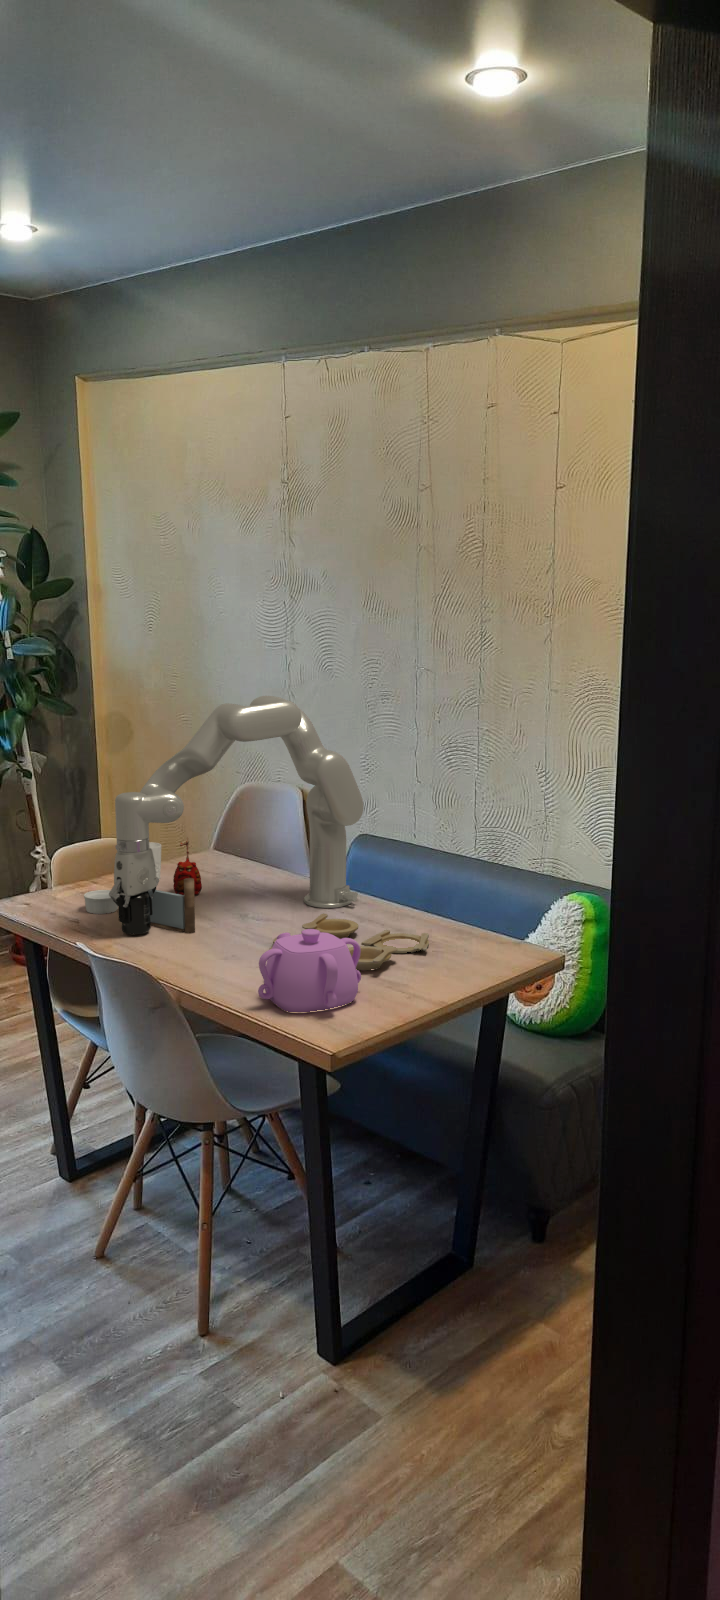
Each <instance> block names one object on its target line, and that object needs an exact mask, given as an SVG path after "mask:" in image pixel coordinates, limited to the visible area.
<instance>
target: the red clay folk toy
mask: <svg viewBox="0 0 720 1600" xmlns="http://www.w3.org/2000/svg"><path fill="white" fill-rule="evenodd" d="M189 843H190V841H189V837H186V842H185V843H183V842H179V844H180V846H179V847H183V846H186V847H185V848H186V857H185V861H179V862H178V863H177V865H176V866H177V867H176V868H175V870H174V874H173V878H172V879H173V880H172V881H173V890H174V893H175V894H180V895H184V879H186V878H193V879H194V897H195V896H199V893H201V890H202V887H203V886H202V876H201V874H200V870H199V869H198V867H197V863H196V862H195V861H190V856H189V854H190V851H189Z"/></svg>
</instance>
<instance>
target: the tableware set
mask: <svg viewBox="0 0 720 1600" xmlns="http://www.w3.org/2000/svg"><path fill="white" fill-rule="evenodd" d="M328 917H329V915H328V914H327V913H321V914H320V915H318V916H317V917H316V918H315V919H314V920H312V921H311V922H306V923H303V924H302V925H301V927H302V929H303V930H306V929H316V930H319V931H320V932H324V933H329V934H332V935H334V936H336V937H337V938H339V939H342V938H349V937H350V935H351V934H352V933H354V932H356V931H357V930H358V929H359V924H358V922H355V921H353V920H350V919H345V918H328ZM348 936H349V937H348ZM429 938H430V934H429V933H428V932H423V933H422V932H421V934H420V935H419V934H414V933H406V932H405V933H404V932H403V933H402V932H398V933H396V932H395V933H391V930H389V929H384V930H382V931H380V932H378V933H377V934H374V935H373V936H371V937H369V938H367V939H365V940H363V941H362V942H361V944H360V949H361V953H360V958H359V961H358V964H357V966H356V969H358V971H360V970H371V969H376V968H378V969H380V968H381V966H382V964H383V963H384V962H387V961H389V960H390V959H391V958H392V954H408V953H407V952H411V953H416V951H417V952H420V950H421V951H423V952H424V951H427V950H428V947H429V945H430V941H429ZM395 939H411V940H415V941H417V942H419V944H416V945H415V946H414V947H408V948H396V947H393V946H387V945H383V943H384V942H386V941H389V940H395ZM276 940H277V937H275V938H274V939H273V940H272V946H270V947H269V948H268V950H270V949H272V947H273V945H274V943H275V941H276ZM348 949H349V951H350V954H351V957H352V956H353V951H354V947H353V946H352V947H348ZM379 967H380V968H379ZM376 970H377V969H376ZM371 971H372V970H371Z"/></svg>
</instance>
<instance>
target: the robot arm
mask: <svg viewBox="0 0 720 1600" xmlns="http://www.w3.org/2000/svg"><path fill="white" fill-rule="evenodd" d="M279 737H280V738H281V739H282V741H283V743H284V745H285V747H286V748H287V751H288V753H289V756H290V758H291V760H292V763H293V765H294V768H295V770H296V773H297V775H298V777H299V778H300V779H301V780H302V781H303V782H304V783H307V784H310V785H312V787H311V788H310V790H309V791H308V793H307V796H306V802H305V803H306V804H305V805H306V813H307V818H308V825H309V893H308V894H306V895H305V896H304V897H303V902H304V904H306V905H307V906H310V907H315V908H323V909H324V908H325V909H333V908H334V909H335V908H341V907H346V906H348V905H350V904H351V903H352V902H356V901H357V899H358V891H351V890H350V885H348V884H347V831H346V827H348V826H349V827H350V826H352V825H355V824H356V823H358V822H359V820H360V819H361V818H362V816H363V813H364V801H363V796H362V793H361V791H360V788H359V786H358V783H357V781H356V778H355V776H354V773H353V771H352V769H351V767H350V765H349V763H348V761H347V760H346V758H344V756H342V755H341V754H340V753H339V752H336V751H333V750H329V749H327V748H326V747H324V745H323V743H322V741H321V739H320V736H319V735H318V731H316V728H315V726H314V724H313V722H312V721H311V719H310V718H309V717H308V716H307V714H306V713H305V712H304V711H303V710H302V709H301V708H300V707H298V705H297V704H295V702H292V701H290V700H287V699H285V698H283V697H279V696H275V695H261V696H257V697H256V698H254V699H253V700H252V701H251V702H250V704H249V705H241V704H235V703H229V702H227V703H222V704H219V705H218V706H217V707H216V708H214V709H213V710H212V712H211V713H210V714H209V716H208V717H207V718H206V720H205V721H204V722H203V723H202V725H201V726H200V727H199V729H198V730H197V731H196V733H194V735H193V736H192V738H191V739H190V740H189V741H188V743H187V744H186V745H185V746H184V747H183V748H182V749H181V750H179V751H178V752H176V753H175V754H173V756H172V757H170V758H169V759H168V760H166V761H165V762H164V763H162V764H161V765H160V766H159V767H158V768H157V769H156V770H155V771H154V773H153V774H152V775H151V776H150V778H149V779H148V780H147V781H146V782H145V784H144V785H143V786H142V787H141V789H140V791H138V792H137V791H128V792H122V793H120V794H118V795H116V797H115V800H114V808H115V809H114V810H115V811H114V812H115V833H116V836H115V837H116V844H115V845H114V846H115V847H114V848H115V850H116V853H115V857H114V858H115V859H114V868H113V883H114V884H113V886H112V887H111V889H110V890H111V891H110V892H109V896H110V897H111V898H112V899H113V901H114V902H115V903H116V905H117V906H118V909H117V910H118V921H119V922H120V923H121V922H123V923H130V922H131V920H130V907H129V906H128V903H129V900H130V896H134V895H138V894H141V893H144V892H147V893H148V895H149V902H150V915H152V899H153V898H154V892H155V890H157V887H158V886H159V883H160V880H159V878H158V877H156V869H155V861H154V856H153V852H152V849H151V848H149V842H150V825H149V824H150V823H151V824H152V823H157V824H160V823H161V824H169V823H173V822H176V821H177V820H179V818H181V817H182V815H183V813H184V810H185V805H184V801H183V799H182V798H181V797H180V796H179V794H177V793H176V792H177V790H179V789H180V788H181V787H182V786H183V785H184V784H186V783H187V782H189V781H190V780H191V779H194V778H195V777H198V776H202V775H204V774H206V773H208V772H210V771H212V770H213V769H215V767H216V766H217V765H218V763H219V762H220V761H221V759H222V758H223V757H224V755H225V754H226V753H227V752H228V750H229V749H230V748H231V747H232V745H233V744H234V742H235V741H237V742H240V743H241V742H244V743H245V742H256V741H264V740H268V739H274V738H275V739H276V738H279ZM123 896H125V899H124V900H123Z"/></svg>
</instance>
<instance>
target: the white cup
mask: <svg viewBox="0 0 720 1600" xmlns="http://www.w3.org/2000/svg"><path fill="white" fill-rule="evenodd" d="M149 848H151V849H152V852H153V856H154V861H155V869H156V877H158V878H159V879H160V880H161V869H162V844H161V843H159V842H155V841H154V842H153V841H151V842H150V841H149Z"/></svg>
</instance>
